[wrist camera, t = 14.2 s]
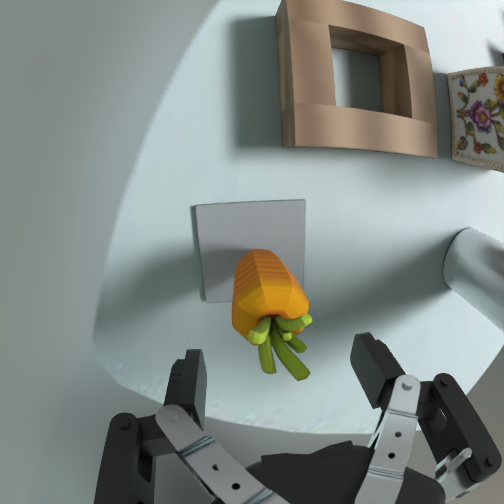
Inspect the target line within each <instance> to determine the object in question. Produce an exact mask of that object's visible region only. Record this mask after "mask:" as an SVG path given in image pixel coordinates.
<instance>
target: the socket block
mask: <svg viewBox="0 0 504 504" xmlns="http://www.w3.org/2000/svg"><path fill="white" fill-rule="evenodd" d="M275 19H276V32H277V46H278V61H279V79H280V100H281V125H282V147H327V148H345V149H358V150H370V151H380V152H389V153H397V154H405V155H413V156H421V157H429V158H436V159H438V132H437V110H436V97H435V87H434V79H433V72H432V65H431V59H430V53H429V48H428V43H427V38H426V34H425V30H424V27H421V26H419V25H417V24H414V23H412V22H410V21H407V20H405V19H402V18H399V17H397V16H394V15H391V14H388V13H385V12H382V11H379V10H376V9H373V8H369V7H366V6H362V5H359V4H355V3H351V2H347V1H342V0H281V3H280V5H279V8H278V10H277V13H276V15H275ZM331 47H335V48H340V49H346V50H351V51H356V52H361V53H365V54H369V55H373V56H377V57H378V60H379V68H380V77H381V87H382V101H383V113H382V112H376V111H370V110H363V109H356V108H349V107H340V106H336V102H335V86H334V73H333V61H332V52H331Z"/></svg>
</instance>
